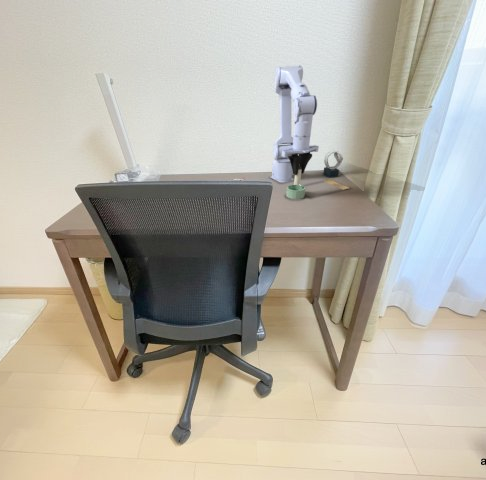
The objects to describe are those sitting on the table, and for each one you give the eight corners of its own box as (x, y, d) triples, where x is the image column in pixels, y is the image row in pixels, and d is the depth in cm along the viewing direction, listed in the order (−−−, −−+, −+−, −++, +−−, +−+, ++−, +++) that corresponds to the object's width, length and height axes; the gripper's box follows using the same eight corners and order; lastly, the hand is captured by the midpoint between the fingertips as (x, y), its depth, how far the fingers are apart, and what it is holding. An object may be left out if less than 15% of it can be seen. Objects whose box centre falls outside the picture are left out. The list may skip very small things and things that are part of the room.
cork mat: (291, 188, 109) (291, 187, 109) (329, 180, 115) (329, 179, 115) (309, 198, 100) (310, 197, 100) (349, 188, 106) (350, 187, 105)
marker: (292, 183, 100) (294, 165, 96) (297, 182, 100) (299, 164, 97) (296, 185, 98) (298, 167, 94) (301, 184, 99) (303, 166, 95)
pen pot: (282, 195, 103) (283, 186, 101) (297, 191, 106) (298, 183, 103) (292, 201, 98) (293, 192, 96) (308, 197, 100) (309, 188, 98)
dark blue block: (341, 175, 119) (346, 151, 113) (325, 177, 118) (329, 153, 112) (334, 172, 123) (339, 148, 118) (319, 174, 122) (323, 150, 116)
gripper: (291, 140, 84) (287, 179, 92) (326, 134, 89) (320, 173, 96) (279, 136, 90) (277, 174, 97) (313, 131, 94) (308, 168, 101)
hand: (298, 173), depth 97 cm, fingers closed on marker, 2 cm apart
